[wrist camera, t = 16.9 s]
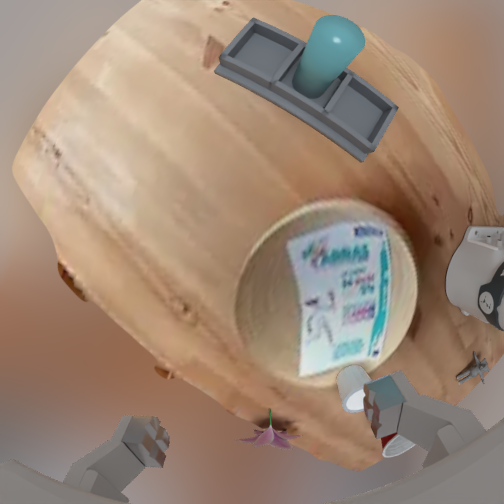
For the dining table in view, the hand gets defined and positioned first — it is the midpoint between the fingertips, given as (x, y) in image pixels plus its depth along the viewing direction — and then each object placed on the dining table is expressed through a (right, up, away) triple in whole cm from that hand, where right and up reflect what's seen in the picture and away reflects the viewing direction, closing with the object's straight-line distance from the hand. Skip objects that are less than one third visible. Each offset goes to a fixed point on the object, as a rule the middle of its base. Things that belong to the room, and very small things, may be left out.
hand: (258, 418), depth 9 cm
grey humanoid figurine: (+54, -23, +38) cm, 70 cm away
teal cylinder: (+8, +30, +24) cm, 39 cm away
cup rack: (+8, +30, +25) cm, 40 cm away
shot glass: (+18, -17, +37) cm, 44 cm away
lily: (+3, -28, +39) cm, 49 cm away
